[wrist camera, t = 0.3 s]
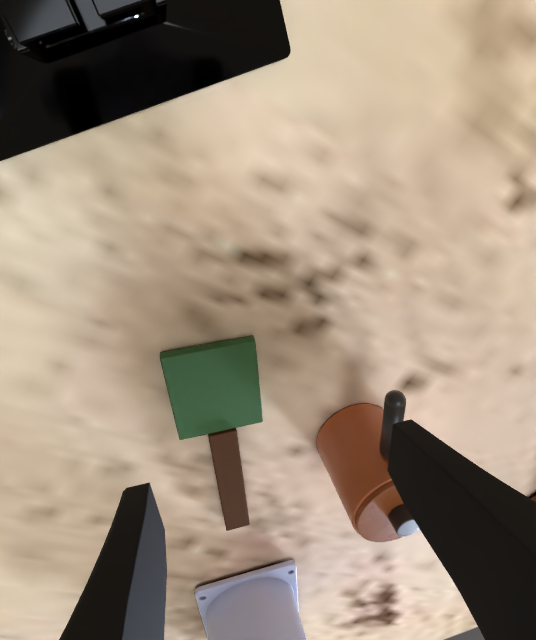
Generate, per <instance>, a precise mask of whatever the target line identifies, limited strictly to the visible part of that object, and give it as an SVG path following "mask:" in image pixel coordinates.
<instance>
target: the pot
mask: <svg viewBox="0 0 536 640" xmlns="http://www.w3.org/2000/svg"><path fill="white" fill-rule="evenodd" d="M405 406H406V398H405V396H404V394H403V393H401V392H400V391H397V390H392V391H390V392H388V393H387V394H386V396H385V401H384V410H383V409H382V408H380V407H378V406H376V405H372V404H357V405H353V406H350V407H347V408H345V409H343V410H341V411H339V412H337V413H336V414H334V415H333V416H332V417H331V418H330V419H328V420H327V422H326V423H325V424H324V425H323V427H322V428H321V430H320V432H319V434H318V438H317V449H318V452H319V454H320V456H321V458H322V460H323V462H324V465H325V467H326V469H327V471H328V473H329V475H330V478H331V480H332V482H333V484H334V486H335V488H336V491H337V493H338V495H339V497H340V499H341V501H342V504H343V506H344V508H345V510H346V512H347V514H348V516H349V519H350V521H351V523H352V525H353V527H354V529H355V530H356V531H357V532H358V533H359V534H360V535H361V536H362V537H363V538H365V539H367V540H369V541H374V542H386V541H391V540H395V539H398V538H401V537H404V536H408V535H411V534H412V533H414V532H416V531H417V530H418V529H419V527H418V525H417V524H416V522H415V521H414V519H413V518H412V516H411V514H410V513H409V511H408V510H407V508H406V506H405V505H404V503H403V501H402V499H401V497H400V495H399V493H398V491H397V489H396V487H395V485H394V483H393V481H392V479H391V477H390V475H389V473H388V471H387V469H388V461H389V452H390V444H391V435H392V427H393V424H394V423H399V422H403V420H404V413H405Z"/></svg>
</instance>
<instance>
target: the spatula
mask: <svg viewBox="0 0 536 640" xmlns="http://www.w3.org/2000/svg"><path fill="white" fill-rule="evenodd" d="M160 360H161V364H162V368H163V373H164V377H165V381H166V385H167V389H168V393H169V397H170V401H171V406H172V410H173V414H174V418H175V422H176V426H177V430H178V435H179V439H180V440H183V439H187V438H192V437H196V436H201V435H205V434H208V436H209V441H210V447H211V452H212V457H213V462H214V468H215V473H216V478H217V483H218V489H219V494H220V499H221V504H222V510H223V515H224V520H225V525H226V530H227V531H228V530H232V529H235V528H239V527H243V526H247V525H249V524H250V523H249V516H248V509H247V502H246V495H245V488H244V481H243V474H242V466H241V459H240V452H239V445H238V438H237V431H236V428H237V427H242V426H246V425H251V424H255V423H260V422H263V419H262V408H261V397H260V387H259V376H258V365H257V355H256V344H255V340H254V337H253V336H249V337H243V338H238V339H232V340H226V341H221V342H215V343H210V344H204V345H199V346H193V347H188V348H182V349H177V350H171V351H165V352H161V353H160Z"/></svg>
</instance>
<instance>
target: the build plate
mask: <svg viewBox="0 0 536 640" xmlns="http://www.w3.org/2000/svg"><path fill="white" fill-rule="evenodd" d="M289 54H290V45H289V40H288V36H287V31H286V27H285V22H284V18H283V13H282V9H281V4H280V0H0V161H2V160H5V159H8V158H10V157H13V156H16V155H19V154H21V153H24V152H27V151H30V150H33V149H35V148H38V147H41V146H44V145H46V144H49V143H52V142H55V141H58V140H60V139H63V138H66V137H69V136H71V135H74V134H77V133H80V132H82V131H85V130H88V129H91V128H94V127H96V126H99V125H102V124H105V123H107V122H110V121H113V120H116V119H119V118H121V117H124V116H127V115H130V114H132V113H135V112H138V111H141V110H144V109H146V108H149V107H152V106H155V105H157V104H160V103H163V102H166V101H169V100H171V99H174V98H177V97H180V96H182V95H185V94H188V93H191V92H194V91H196V90H199V89H202V88H205V87H207V86H210V85H213V84H216V83H218V82H221V81H224V80H227V79H230V78H232V77H235V76H238V75H241V74H243V73H246V72H249V71H252V70H255V69H257V68H260V67H263V66H266V65H268V64H271V63H274V62H277V61H280V60H282V59H285V58H287V57H288V56H289Z"/></svg>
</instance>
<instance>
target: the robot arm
mask: <svg viewBox="0 0 536 640" xmlns="http://www.w3.org/2000/svg"><path fill="white" fill-rule="evenodd" d="M387 471H388V473H389V475H390V477H391V479H392V481H393V483H394V485H395V487H396V489H397V491H398V493H399V495H400V497H401V499H402V501H403V503H404V505H405V506H406V508H407V510H408V511H409V513H410V514H411V516H412V518H413V519H414V521H415V522H416V524H417V525H418V527H419V529H420V530H421V532H422V533H423V535H424V536H425V538H426V539H427V541H428V542H429V544H430V546H431V547H432V549H433V550H434V552H435V553H436V555H437V556H438V558H439V560H440V561H441V563H442V564H443V566H444V567H445V569H446V570H447V572H448V573H449V575H450V577H451V578H452V580H453V582H454V583H455V585H456V587H457V588H458V590H459V592H460V593H461V595H462V597H463V599H464V601H465V603H466V604H467V606H468V608H469V610H470V612H471V614H472V616H473V618H474V620H475V621H476V623H477V625H478V627H479V629H480V631H481V633H482V635H483V637H484V638H485V640H536V502H535V501H533V500H532V499H530V498H528V497H527V496H525V495H523V494H522V493H520V492H518V491H517V490H515V489H513V488H512V487H510V486H508V485H507V484H505V483H503V482H502V481H500V480H499V479H497V478H496V477H494V476H492V475H491V474H489V473H488V472H486V471H485V470H483V469H482V468H480V467H479V466H477V465H476V464H474V463H473V462H471V461H470V460H468V459H467V458H465V457H464V456H462V455H461V454H459V453H458V452H457V451H455V450H454V449H452V448H451V447H449V446H448V445H447V444H445V443H444V442H442V441H441V440H440V439H438V438H437V437H435V436H434V435H433V434H431V433H430V432H428V431H427V430H425V429H424V428H423V427H421V426H420V425H418V424H417V423H416V422H414V421H413V420H407V421H403V422H399V423H394V424H393V427H392V435H391V444H390V452H389V461H388V469H387ZM166 578H167V563H166V544H165V529H164V526H163V523H162V520H161V517H160V513H159V510H158V507H157V504H156V501H155V498H154V495H153V492H152V489H151V486H150V483H146V484H142V485H137V486H133V487H129V488H126V489H125V490H124V491H123V493H122V497H121V500H120V503H119V506H118V508H117V511H116V514H115V517H114V520H113V522H112V525H111V528H110V530H109V533H108V535H107V538H106V540H105V543H104V545H103V548H102V550H101V552H100V555H99V557H98V559H97V561H96V564H95V566H94V568H93V571H92V573H91V575H90V578H89V580H88V582H87V584H86V586H85V589H84V591H83V593H82V595H81V597H80V599H79V601H78V603H77V605H76V607H75V609H74V611H73V613H72V615H71V618H70V620H69V622H68V624H67V626H66V628H65V630H64V632H63V633H62V635H61V637H60V639H59V640H164V624H165V602H166ZM195 598H196V601H197V604H198V608H199V611H200V615H201V618H202V621H203V625H204V628H205V631H206V635H207V638H208V640H306V637H305V633H304V629H303V626H302V622H301V619H300V615H299V611H298V590H297V570H296V564H295V561H293V560H289V561H286V562H282V563H279V564H275V565H272V566H268V567H265V568H261V569H258V570H255V571H251V572H248V573H244V574H241V575H237V576H234V577H230V578H227V579H224V580H220V581H217V582H213V583H210V584H206V585H203V586H200V587H198V588H196V590H195Z"/></svg>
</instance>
